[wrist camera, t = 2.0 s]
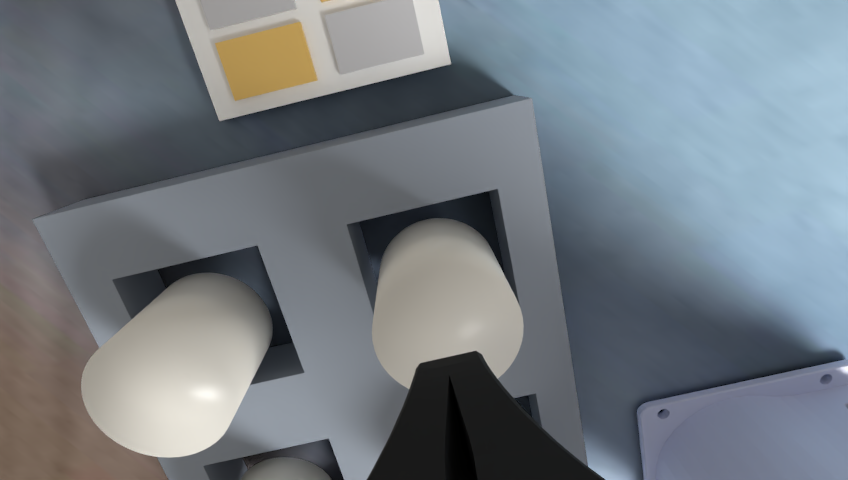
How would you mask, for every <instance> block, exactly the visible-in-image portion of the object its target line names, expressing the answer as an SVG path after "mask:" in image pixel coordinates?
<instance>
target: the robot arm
mask: <svg viewBox="0 0 848 480" xmlns="http://www.w3.org/2000/svg"><path fill="white" fill-rule="evenodd" d="M823 375H824V376H823ZM822 376H823V377H822ZM821 377H822V378H821ZM662 409H664V410H663V412H661V413H658V412H659V411H660V410H662ZM637 419H638V429H639V438H640V448H641V457H642V467H643V477H644V480H848V360H841V361H836V362H831V363H827V364H822V365H817V366H813V367H808V368H803V369H799V370H794V371H790V372H785V373H780V374H776V375H771V376H766V377H762V378H757V379H752V380H748V381H743V382H738V383H734V384H729V385H724V386H720V387H715V388H710V389H706V390H701V391H697V392H692V393H687V394H683V395H678V396H673V397H669V398H664V399H659V400H655V401H650V402H646V403H644V404H642V405H641V406H640V407H639V408H638V410H637ZM367 480H605V479H604V478H602V477H601V476H600V475H598V474H597V473H596V472H594V471H593V470H592V469H590V468H589V467H588V466H586V465H585V464H584V463H583V462H581V461H580V460H579V459H578V458H576V457H575V456H574V455H573V454H571V453H570V452H569V451H568V450H567V449H565V448H564V447H563V446H562V445H561V444H560V443H558V442H557V441H556V440H555V439H554V438H553V437H552V436H551V435H550V434H548V433H547V432H546V431H545V430H544V429H543V428H542V427H541V426H540V425H539V424H538V423H537V422H536V421H535V420H534V419H533V418H532V417H531V416H530V415H529V414H528V413H527V412H526V411H525V410H524V409H523V408H522V407H521V406H520V404H519V403H518V402H517V401H516V400H515V399H514V398H513V397H512V396H511V395H510V393H509V392H508V391H507V390H506V389H505V388H504V386H503V385H502V384H501V383H500V381H499V380H498V379H497V377H496V376H495V375H494V373H493V372H492V371H491V369H490V368H489V366H488V365H487V363H486V361H485V359H484V358H483V355H482V354H481V353H479V352H477V351H472V352H468V353H463V354H459V355H454V356H450V357H445V358H441V359H436V360H432V361H427V362H423V363H420V364H419V365H418V367H417V368H416V370H415V374H414V377H413V380H412V383H411V386H410V389H409V391H408V394H407V397H406V399H405V402H404V404H403V407H402V409H401V412H400V414H399V416H398V418H397V421H396V423H395V425H394V427H393V430H392V432H391V434H390V436H389V438H388V440H387V442H386V444H385V446H384V448H383V450H382V452H381V454H380V456H379V458H378V460H377V462H376V463H375V465H374V467H373V469H372V471H371V473H370V475H369V476H368V478H367Z"/></svg>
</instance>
